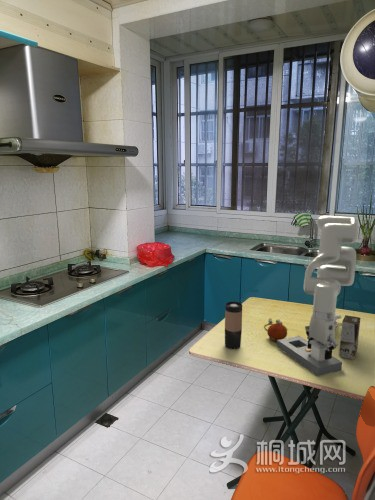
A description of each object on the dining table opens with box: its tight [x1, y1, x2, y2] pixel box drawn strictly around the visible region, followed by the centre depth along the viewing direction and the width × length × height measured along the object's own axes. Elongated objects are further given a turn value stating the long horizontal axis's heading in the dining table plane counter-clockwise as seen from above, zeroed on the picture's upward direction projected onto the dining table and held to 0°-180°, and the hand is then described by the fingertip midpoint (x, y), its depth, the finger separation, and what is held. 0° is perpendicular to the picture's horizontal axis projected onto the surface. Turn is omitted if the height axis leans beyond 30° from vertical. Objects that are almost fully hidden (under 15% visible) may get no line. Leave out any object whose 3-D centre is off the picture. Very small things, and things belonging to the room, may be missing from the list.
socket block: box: [276, 335, 343, 377], centre depth 155 cm, size 12×26×4 cm, turn 23°
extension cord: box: [264, 317, 288, 332], centre depth 186 cm, size 12×16×2 cm
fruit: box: [266, 322, 288, 342], centre depth 172 cm, size 9×9×8 cm
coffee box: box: [338, 314, 361, 360], centre depth 157 cm, size 9×6×16 cm
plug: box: [310, 339, 330, 362], centre depth 148 cm, size 6×6×12 cm
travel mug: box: [224, 301, 243, 350], centre depth 164 cm, size 8×8×20 cm
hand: (319, 353), depth 148 cm, fingers open, 9 cm apart
